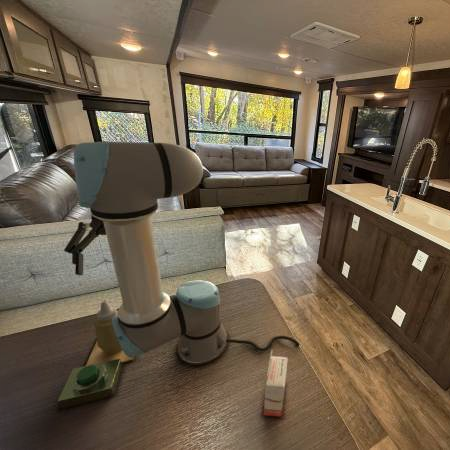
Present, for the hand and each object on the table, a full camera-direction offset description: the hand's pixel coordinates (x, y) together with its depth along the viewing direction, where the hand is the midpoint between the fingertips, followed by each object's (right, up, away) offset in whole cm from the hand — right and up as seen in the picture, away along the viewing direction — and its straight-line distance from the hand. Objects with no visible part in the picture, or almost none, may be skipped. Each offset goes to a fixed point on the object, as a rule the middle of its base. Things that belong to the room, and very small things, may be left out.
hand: (106, 270), depth 76 cm
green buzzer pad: (+4, -30, -9) cm, 31 cm away
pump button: (+5, -26, -12) cm, 29 cm away
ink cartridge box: (+53, -34, -8) cm, 64 cm away
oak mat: (+2, -25, +1) cm, 25 cm away
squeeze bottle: (+2, -25, +2) cm, 25 cm away
